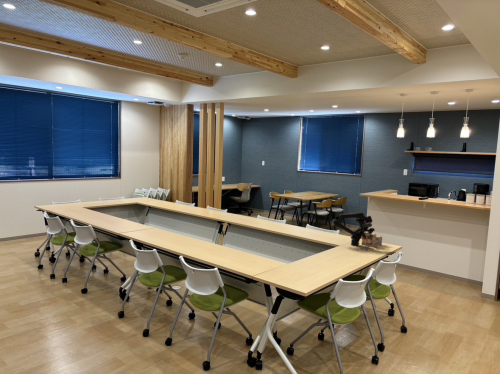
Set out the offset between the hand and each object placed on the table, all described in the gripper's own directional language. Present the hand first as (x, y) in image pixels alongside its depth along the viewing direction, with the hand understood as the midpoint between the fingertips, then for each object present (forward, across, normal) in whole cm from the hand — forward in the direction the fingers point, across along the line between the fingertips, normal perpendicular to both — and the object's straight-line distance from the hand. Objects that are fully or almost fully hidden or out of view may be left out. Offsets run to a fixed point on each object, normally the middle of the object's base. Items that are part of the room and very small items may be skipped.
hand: (368, 238), depth 329 cm
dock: (+7, 0, +9) cm, 12 cm away
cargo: (+3, 0, +5) cm, 6 cm away
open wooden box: (+4, 0, +6) cm, 7 cm away
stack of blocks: (-2, +17, +19) cm, 26 cm away
